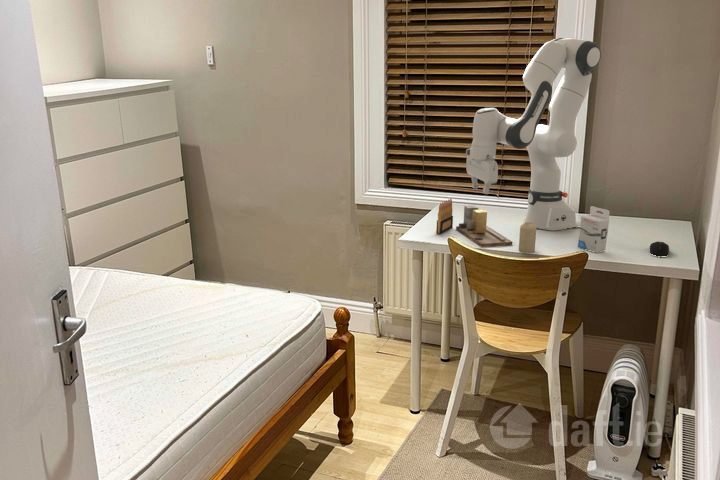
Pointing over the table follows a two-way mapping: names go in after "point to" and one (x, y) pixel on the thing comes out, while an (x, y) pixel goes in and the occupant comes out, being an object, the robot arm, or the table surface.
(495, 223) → the table surface
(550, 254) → the table surface
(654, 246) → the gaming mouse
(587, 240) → the ink box
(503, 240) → the gauge board
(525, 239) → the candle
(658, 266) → the table surface
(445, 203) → the ammunition clip
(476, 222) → the block
